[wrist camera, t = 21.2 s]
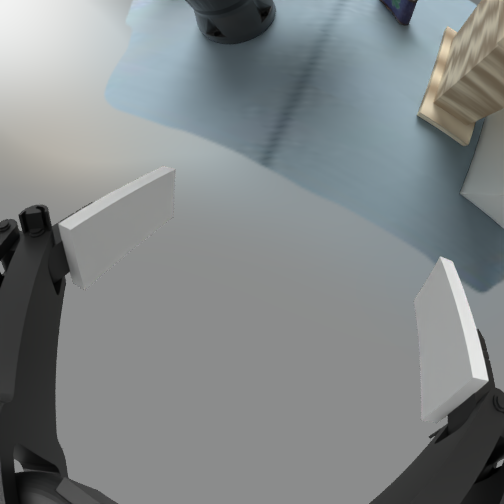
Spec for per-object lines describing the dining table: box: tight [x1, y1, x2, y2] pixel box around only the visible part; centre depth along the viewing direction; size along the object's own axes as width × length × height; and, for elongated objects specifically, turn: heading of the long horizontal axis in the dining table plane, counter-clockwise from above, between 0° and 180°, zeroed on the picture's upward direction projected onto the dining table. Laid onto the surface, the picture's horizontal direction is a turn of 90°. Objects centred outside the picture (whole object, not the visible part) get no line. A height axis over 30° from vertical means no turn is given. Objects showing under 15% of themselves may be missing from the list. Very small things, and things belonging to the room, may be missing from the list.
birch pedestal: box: [417, 0, 504, 146], centre depth 19 cm, size 22×10×30 cm, turn 155°
